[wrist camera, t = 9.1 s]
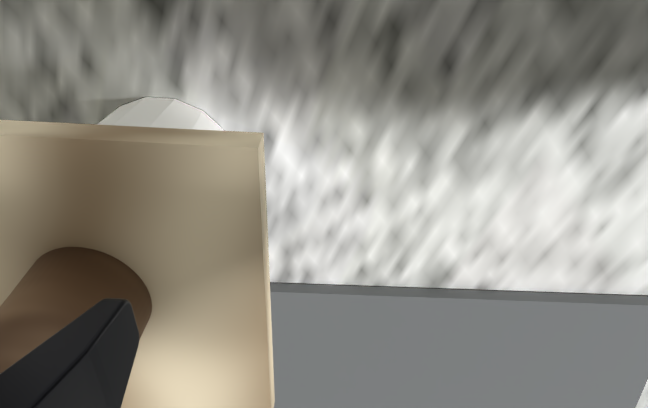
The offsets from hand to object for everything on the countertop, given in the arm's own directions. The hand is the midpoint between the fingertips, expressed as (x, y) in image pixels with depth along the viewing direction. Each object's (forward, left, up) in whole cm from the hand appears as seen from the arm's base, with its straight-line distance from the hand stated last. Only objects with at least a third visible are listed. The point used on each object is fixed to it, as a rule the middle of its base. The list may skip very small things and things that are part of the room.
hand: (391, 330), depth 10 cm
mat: (-4, +19, -13) cm, 23 cm away
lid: (+8, +4, -6) cm, 11 cm away
